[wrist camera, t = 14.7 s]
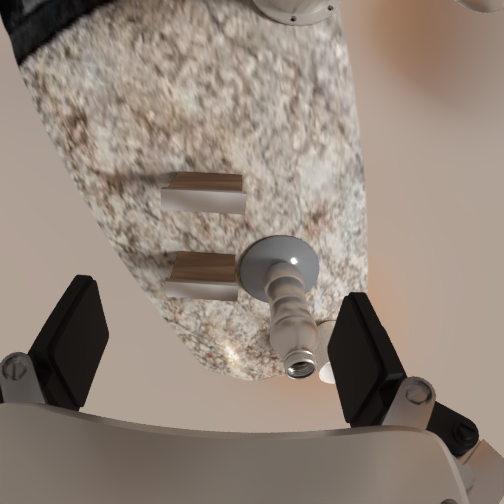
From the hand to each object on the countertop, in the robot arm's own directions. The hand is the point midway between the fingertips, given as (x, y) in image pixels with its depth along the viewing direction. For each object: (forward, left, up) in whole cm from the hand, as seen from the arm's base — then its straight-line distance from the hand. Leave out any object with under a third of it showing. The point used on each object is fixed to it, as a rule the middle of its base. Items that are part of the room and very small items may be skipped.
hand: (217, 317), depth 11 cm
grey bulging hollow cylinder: (+20, +9, -34) cm, 41 cm away
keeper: (+12, -3, -34) cm, 36 cm away
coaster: (+20, +9, -34) cm, 41 cm away
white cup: (+34, +21, -34) cm, 53 cm away
